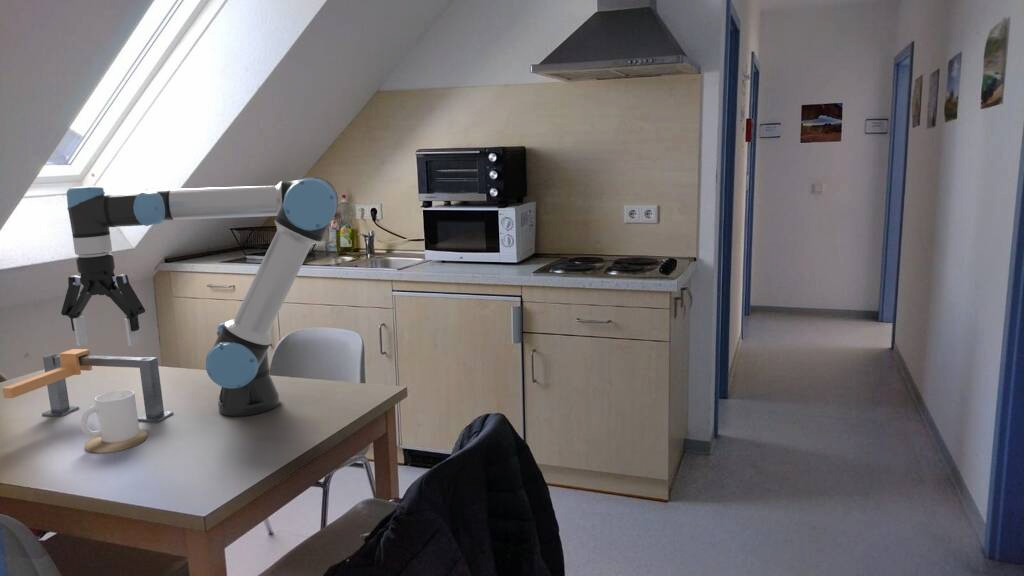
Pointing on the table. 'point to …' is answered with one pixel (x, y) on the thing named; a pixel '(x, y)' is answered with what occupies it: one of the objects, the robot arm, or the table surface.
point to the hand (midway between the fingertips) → (108, 344)
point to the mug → (113, 417)
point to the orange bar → (50, 374)
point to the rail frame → (146, 365)
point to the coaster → (113, 444)
